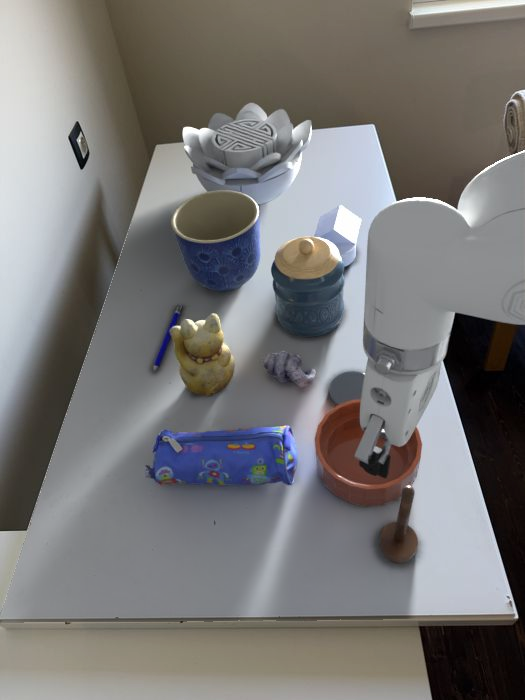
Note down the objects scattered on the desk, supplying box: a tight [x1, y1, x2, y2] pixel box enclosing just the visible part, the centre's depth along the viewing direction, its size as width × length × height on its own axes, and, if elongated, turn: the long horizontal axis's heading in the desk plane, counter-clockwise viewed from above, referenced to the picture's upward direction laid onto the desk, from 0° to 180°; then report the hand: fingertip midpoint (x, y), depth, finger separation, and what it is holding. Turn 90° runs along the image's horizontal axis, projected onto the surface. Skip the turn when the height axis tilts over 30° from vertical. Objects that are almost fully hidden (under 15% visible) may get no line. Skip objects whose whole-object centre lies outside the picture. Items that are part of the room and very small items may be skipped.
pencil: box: [152, 305, 183, 372], centre depth 107 cm, size 17×1×1 cm, turn 169°
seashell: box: [261, 351, 316, 388], centre depth 96 cm, size 5×5×10 cm
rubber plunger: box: [378, 486, 419, 565], centre depth 71 cm, size 5×5×16 cm
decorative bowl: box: [182, 102, 312, 205], centre depth 132 cm, size 30×30×15 cm
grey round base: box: [329, 370, 365, 406], centre depth 94 cm, size 8×8×1 cm
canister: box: [270, 236, 345, 338], centre depth 101 cm, size 13×13×18 cm
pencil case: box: [144, 425, 298, 486], centre depth 83 cm, size 22×9×10 cm, turn 87°
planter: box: [170, 190, 261, 292], centre depth 112 cm, size 17×17×15 cm
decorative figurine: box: [169, 312, 236, 397], centre depth 93 cm, size 10×8×15 cm
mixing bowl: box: [314, 399, 423, 507], centre depth 83 cm, size 15×15×6 cm
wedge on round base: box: [313, 204, 362, 268], centre depth 118 cm, size 9×7×13 cm
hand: (392, 436), depth 63 cm, fingers open, 9 cm apart
